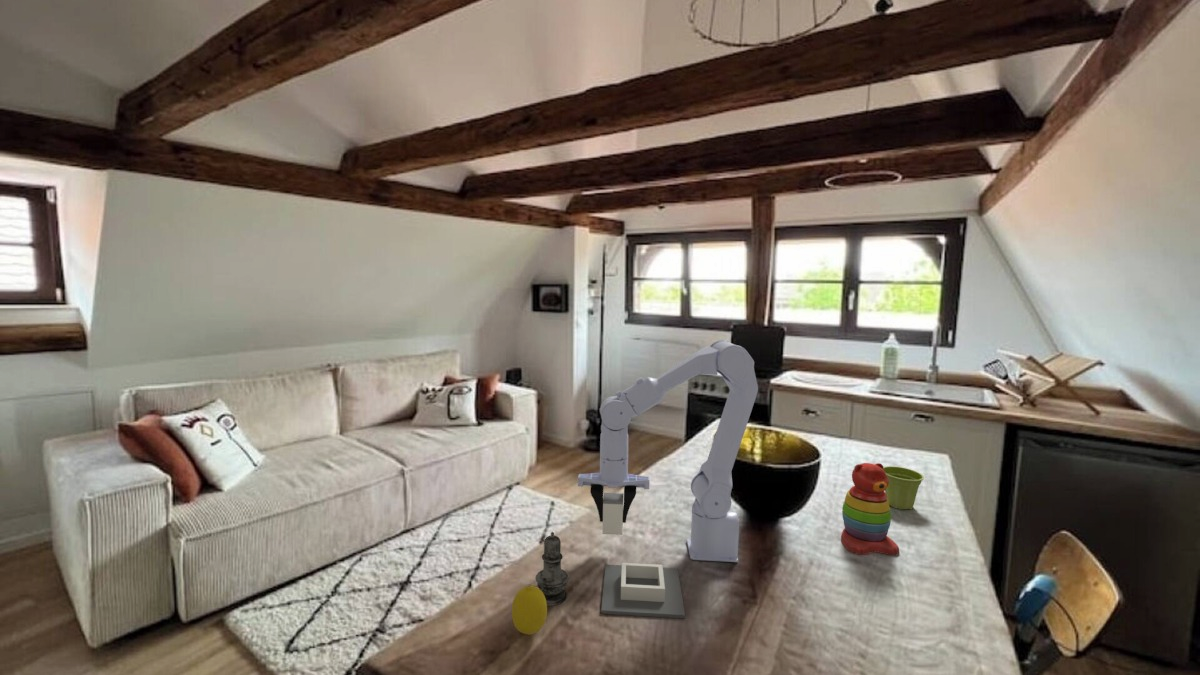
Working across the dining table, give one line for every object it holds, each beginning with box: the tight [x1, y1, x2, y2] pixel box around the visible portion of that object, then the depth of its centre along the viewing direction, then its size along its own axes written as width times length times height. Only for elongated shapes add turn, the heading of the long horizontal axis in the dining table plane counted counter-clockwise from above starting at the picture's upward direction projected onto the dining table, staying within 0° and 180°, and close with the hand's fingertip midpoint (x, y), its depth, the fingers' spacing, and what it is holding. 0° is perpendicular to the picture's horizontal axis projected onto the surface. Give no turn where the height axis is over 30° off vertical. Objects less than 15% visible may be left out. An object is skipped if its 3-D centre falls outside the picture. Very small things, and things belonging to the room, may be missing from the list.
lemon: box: [511, 585, 548, 636], centre depth 79 cm, size 6×6×8 cm
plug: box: [602, 492, 624, 536], centre depth 104 cm, size 4×4×7 cm
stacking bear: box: [840, 462, 900, 556], centre depth 109 cm, size 11×10×18 cm
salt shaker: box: [534, 531, 570, 606], centre depth 89 cm, size 6×6×12 cm
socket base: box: [600, 562, 686, 619], centre depth 91 cm, size 14×14×3 cm
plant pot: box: [883, 465, 925, 510], centre depth 130 cm, size 9×9×9 cm
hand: (612, 520), depth 104 cm, fingers closed on plug, 4 cm apart
